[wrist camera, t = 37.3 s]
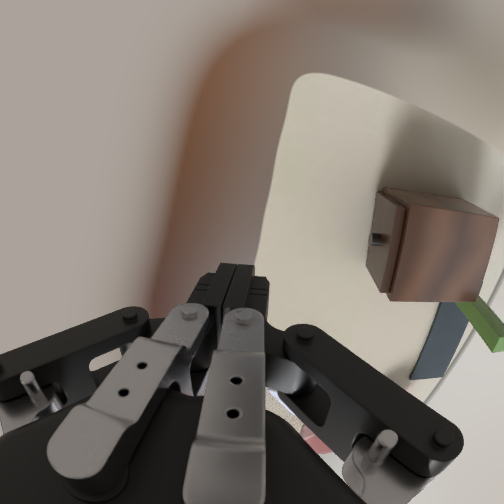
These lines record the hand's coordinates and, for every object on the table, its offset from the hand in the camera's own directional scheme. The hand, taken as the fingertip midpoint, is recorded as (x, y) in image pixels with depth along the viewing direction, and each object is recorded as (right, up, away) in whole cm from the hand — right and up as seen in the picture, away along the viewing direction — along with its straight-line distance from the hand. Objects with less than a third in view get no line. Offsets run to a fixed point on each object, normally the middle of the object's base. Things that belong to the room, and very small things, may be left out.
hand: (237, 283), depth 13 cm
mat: (+35, -13, +31) cm, 49 cm away
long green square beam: (+34, -5, +27) cm, 44 cm away
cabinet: (+25, +4, +25) cm, 35 cm away
